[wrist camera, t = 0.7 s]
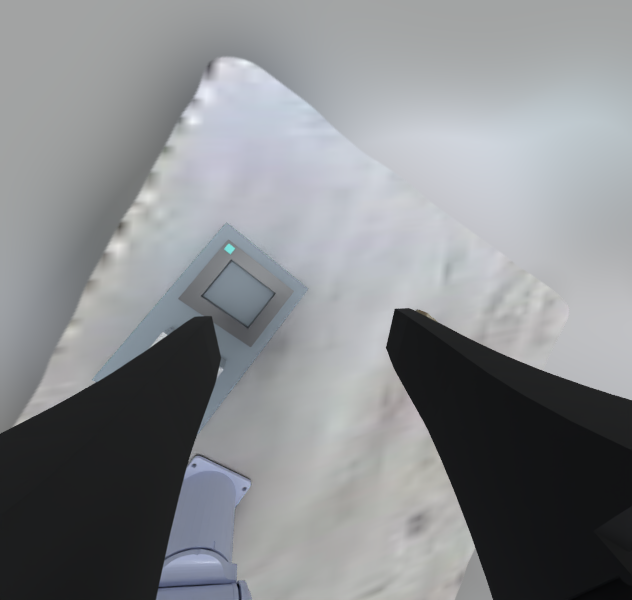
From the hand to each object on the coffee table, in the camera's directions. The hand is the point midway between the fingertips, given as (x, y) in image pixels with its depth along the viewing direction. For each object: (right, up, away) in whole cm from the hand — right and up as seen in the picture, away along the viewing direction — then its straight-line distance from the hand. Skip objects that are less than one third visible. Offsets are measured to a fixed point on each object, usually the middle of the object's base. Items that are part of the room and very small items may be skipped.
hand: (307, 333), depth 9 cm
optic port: (-8, +2, +17) cm, 19 cm away
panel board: (-12, -2, +18) cm, 21 cm away
